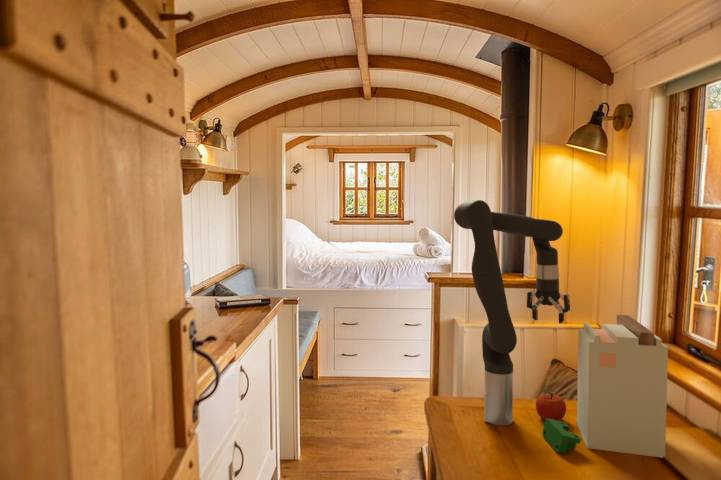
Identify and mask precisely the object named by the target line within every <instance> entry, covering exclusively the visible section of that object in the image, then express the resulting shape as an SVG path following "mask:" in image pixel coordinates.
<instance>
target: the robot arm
mask: <svg viewBox="0 0 721 480" xmlns="http://www.w3.org/2000/svg"><path fill="white" fill-rule="evenodd" d="M453 216H454V217H453V219H454V220H455V223H456V224H457V225H458V227H460V228H462V229H465V230H471V233H472V236H473V241H474V252H473V258H472V261H471V275H472V279H473V285H474V288H475V290H476V291H475V292H476V293H477V296H478V299H479V300H480V303H481V305H482V307H483V308H484V311H485V313H486V316H487V322H488V323H487V324H486V325H485V326H484V328H483V330H482V336H481V346H482V347H481V348H482V349H481V350H482V360H483V365H484V394H483V395H484V404H483V405H484V408H483V410H484V411H483V414H484V415H483V416H484V417H483V418H484V419H483V420H484V422H485V423H489V424H491V425H495V426H510V425H512V424H513V422H514V363H513V361H512V359H511V356H510V353H512V352H513V351H514V350H515V348H516V346H517V342H518V339H517V333H516V329H515V327H514V324H513V320H512V318H511V314H510V310H509V306H508V300H507V295H506V291H505V290H506V289H505V286H504V280H503V279H504V278H503V275H502V270H501V267H500V266H501V265H500V263H499V256H498V251H497V247H496V240H495V234H494V233H495V232H494V231H497V232H502V233H506V234H509V235H510V234H512V235H515V236H519V237H525V238H531V239H532V242H533V245H534V249H535V252H536V267H535V277H536V279H535V287H536V288H535V292H534V291H532V290H529V291H528V292H527V294H526V308H527V309H530V310H531V312H532V313H531V314H532V316H531V317H532V320H534V321H538V320H539V316H538V315H539V311H538V308H539V307H540V305H542V306H553V307H554V308H555V309H556V310H557V311H558V324H561V325H562V324H563V323H564V322H565V314H566V313H568V312H569V311H571V303H570V300H571V299H570V294H568V293H566V294H561V293H560V273H559V272H560V270H559V254H558V249H556V248H555V247H553V246H552V245H551V244H550V242H556V241H557V240H559V239H561V237H562V236H563V233H564V230H563V228H562V226H561V224H560V223H559V222H557V221H555V220H549V219H542V218H541V219H540V218H534V217H531V216H526V215H523V214H516V213H507V212H506V213H505V212H496V211H491V208H490V206H489V204H488V203H487V202H485V201H484V200H482V199H476V200H471V201H464V202H461V203H460V204H459V205H457V207H456V208H455V209H454V214H453ZM534 297H535V298H536V299H537V300H536V302H535V303H534V304H533V298H534ZM560 299H561V300H562V301H563V305H564V307H563V305H562V304H561V302H560V301H559V300H560Z"/></svg>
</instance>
